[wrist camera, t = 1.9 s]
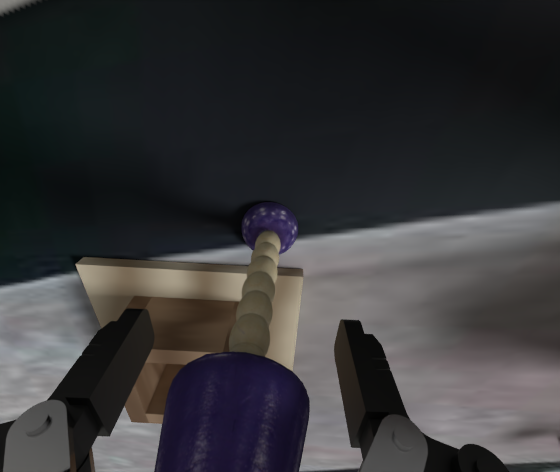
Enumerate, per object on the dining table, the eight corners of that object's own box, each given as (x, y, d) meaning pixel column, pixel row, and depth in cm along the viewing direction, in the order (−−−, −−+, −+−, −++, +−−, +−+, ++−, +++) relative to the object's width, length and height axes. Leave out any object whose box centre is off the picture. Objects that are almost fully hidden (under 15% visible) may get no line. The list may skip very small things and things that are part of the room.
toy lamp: (227, 237, 21) (93, 590, 6) (247, 184, 19) (108, 538, 4) (284, 258, 22) (278, 611, 7) (310, 209, 20) (371, 577, 5)
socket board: (302, 269, 22) (307, 327, 17) (289, 383, 30) (290, 447, 25) (83, 257, 22) (21, 311, 17) (128, 375, 30) (95, 436, 25)
